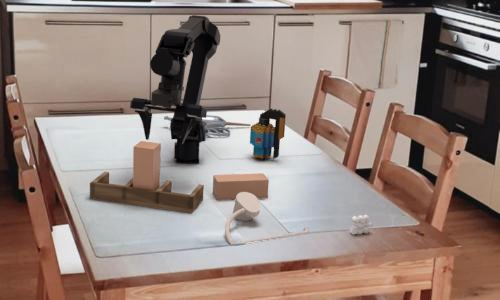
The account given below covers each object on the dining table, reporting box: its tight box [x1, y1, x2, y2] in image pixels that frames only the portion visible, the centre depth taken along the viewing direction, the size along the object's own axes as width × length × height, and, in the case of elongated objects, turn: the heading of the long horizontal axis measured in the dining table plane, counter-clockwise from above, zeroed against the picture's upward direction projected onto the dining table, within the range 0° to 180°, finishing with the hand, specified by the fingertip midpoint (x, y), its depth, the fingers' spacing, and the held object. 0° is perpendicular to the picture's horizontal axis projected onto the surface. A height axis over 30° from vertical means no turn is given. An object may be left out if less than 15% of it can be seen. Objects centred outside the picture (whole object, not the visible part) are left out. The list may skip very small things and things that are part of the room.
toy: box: [249, 108, 286, 161], centre depth 234 cm, size 10×10×15 cm
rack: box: [89, 171, 204, 214], centre depth 200 cm, size 9×26×4 cm, turn 77°
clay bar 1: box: [132, 140, 162, 190], centre depth 198 cm, size 5×5×13 cm
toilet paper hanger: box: [224, 192, 310, 244], centre depth 188 cm, size 20×5×16 cm
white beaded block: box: [349, 214, 373, 236], centre depth 187 cm, size 5×1×4 cm, turn 115°
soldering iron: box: [163, 114, 252, 139], centre depth 257 cm, size 6×28×16 cm
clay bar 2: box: [212, 172, 270, 201], centre depth 206 cm, size 13×5×5 cm, turn 104°
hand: (164, 141), depth 208 cm, fingers open, 9 cm apart
